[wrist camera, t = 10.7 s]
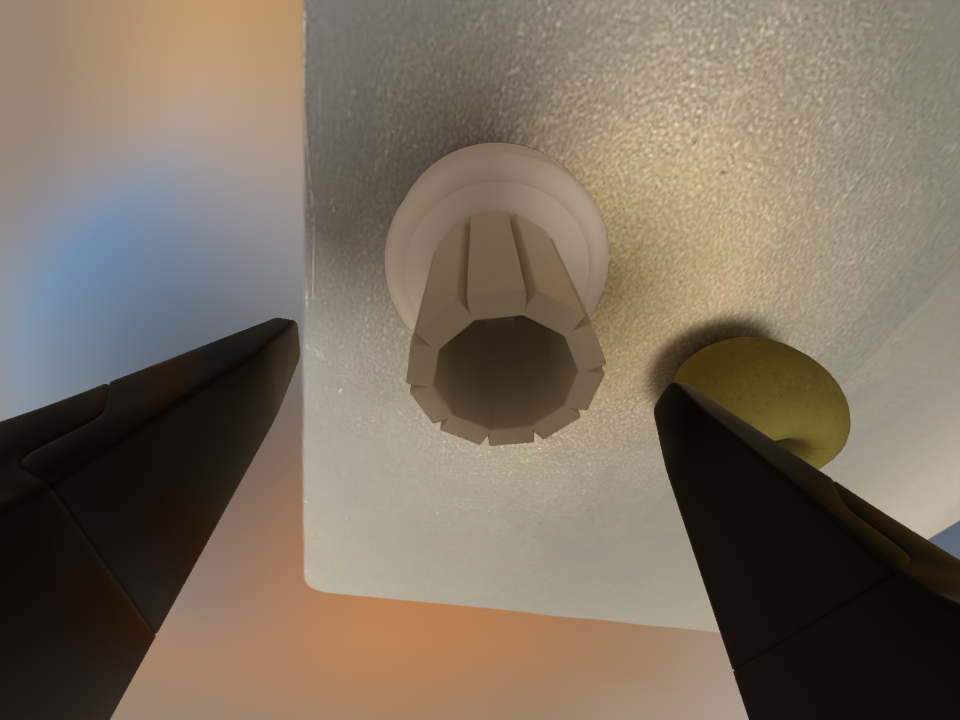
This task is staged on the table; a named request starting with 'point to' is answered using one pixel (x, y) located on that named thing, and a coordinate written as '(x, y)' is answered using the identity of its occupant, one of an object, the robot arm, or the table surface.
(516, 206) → the thick white disc
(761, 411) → the apple
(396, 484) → the table surface
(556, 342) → the fluted vase
